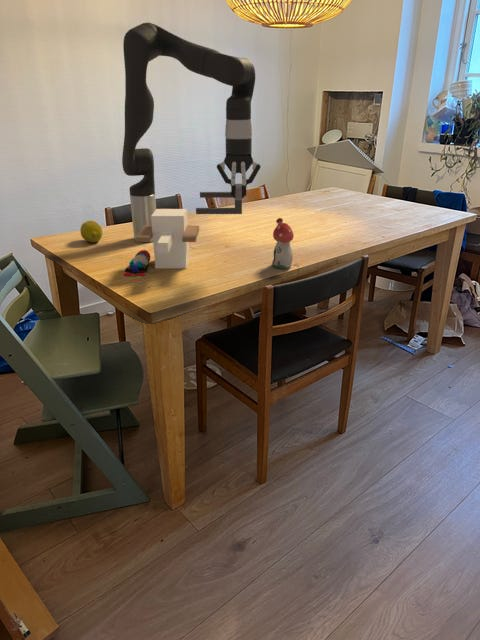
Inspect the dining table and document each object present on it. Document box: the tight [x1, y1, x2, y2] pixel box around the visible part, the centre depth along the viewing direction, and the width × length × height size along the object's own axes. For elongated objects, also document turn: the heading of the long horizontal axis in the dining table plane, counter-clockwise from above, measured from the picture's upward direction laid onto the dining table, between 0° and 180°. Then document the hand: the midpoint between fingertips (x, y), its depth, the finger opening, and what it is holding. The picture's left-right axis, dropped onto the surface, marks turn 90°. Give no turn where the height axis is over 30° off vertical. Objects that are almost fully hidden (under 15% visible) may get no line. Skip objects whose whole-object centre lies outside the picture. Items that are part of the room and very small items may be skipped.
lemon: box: [80, 220, 103, 244], centre depth 180 cm, size 11×8×8 cm
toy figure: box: [123, 249, 151, 278], centre depth 153 cm, size 8×5×15 cm
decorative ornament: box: [271, 217, 294, 270], centre depth 153 cm, size 9×7×15 cm
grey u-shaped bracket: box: [195, 183, 243, 215], centre depth 141 cm, size 13×16×4 cm
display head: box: [135, 208, 200, 269], centre depth 149 cm, size 22×18×17 cm
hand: (238, 197), depth 144 cm, fingers closed on grey u-shaped bracket, 2 cm apart
